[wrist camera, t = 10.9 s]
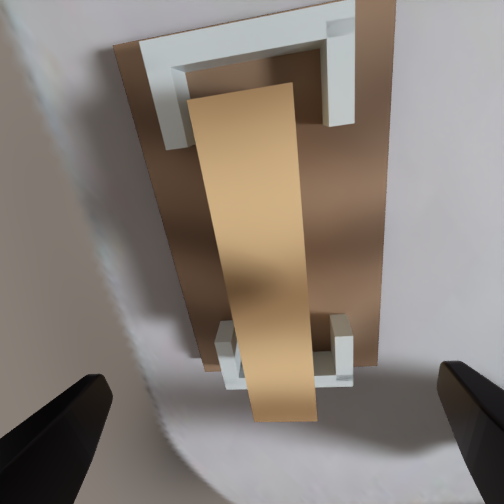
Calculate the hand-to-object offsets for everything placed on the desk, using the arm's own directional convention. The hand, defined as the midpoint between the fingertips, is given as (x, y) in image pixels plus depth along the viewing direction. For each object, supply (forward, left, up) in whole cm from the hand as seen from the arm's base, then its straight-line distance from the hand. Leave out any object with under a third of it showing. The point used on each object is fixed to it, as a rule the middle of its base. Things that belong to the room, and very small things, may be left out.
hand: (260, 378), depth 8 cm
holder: (0, 0, -11) cm, 11 cm away
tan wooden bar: (0, 0, -10) cm, 10 cm away
